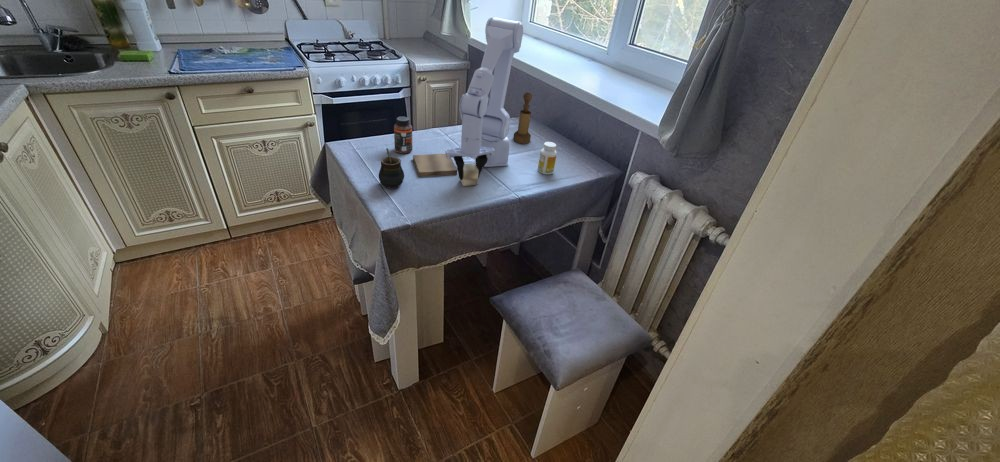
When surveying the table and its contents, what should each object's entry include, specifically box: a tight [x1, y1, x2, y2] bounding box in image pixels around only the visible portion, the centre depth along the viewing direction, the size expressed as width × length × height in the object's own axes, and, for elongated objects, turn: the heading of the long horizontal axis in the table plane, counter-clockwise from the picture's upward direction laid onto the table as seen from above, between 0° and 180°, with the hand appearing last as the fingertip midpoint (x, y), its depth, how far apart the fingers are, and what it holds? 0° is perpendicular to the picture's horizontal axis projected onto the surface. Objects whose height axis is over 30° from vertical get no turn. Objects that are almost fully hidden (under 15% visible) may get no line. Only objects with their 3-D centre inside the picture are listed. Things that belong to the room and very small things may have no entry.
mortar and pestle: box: [512, 92, 533, 145], centre depth 159 cm, size 7×6×18 cm
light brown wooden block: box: [412, 153, 458, 177], centre depth 139 cm, size 12×12×2 cm
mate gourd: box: [378, 148, 405, 189], centre depth 125 cm, size 7×8×10 cm
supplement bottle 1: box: [393, 116, 413, 155], centre depth 144 cm, size 6×6×11 cm
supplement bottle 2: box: [537, 141, 558, 175], centre depth 142 cm, size 5×5×10 cm
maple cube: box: [459, 162, 479, 187], centre depth 131 cm, size 4×4×5 cm
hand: (468, 177), depth 132 cm, fingers closed on maple cube, 4 cm apart
